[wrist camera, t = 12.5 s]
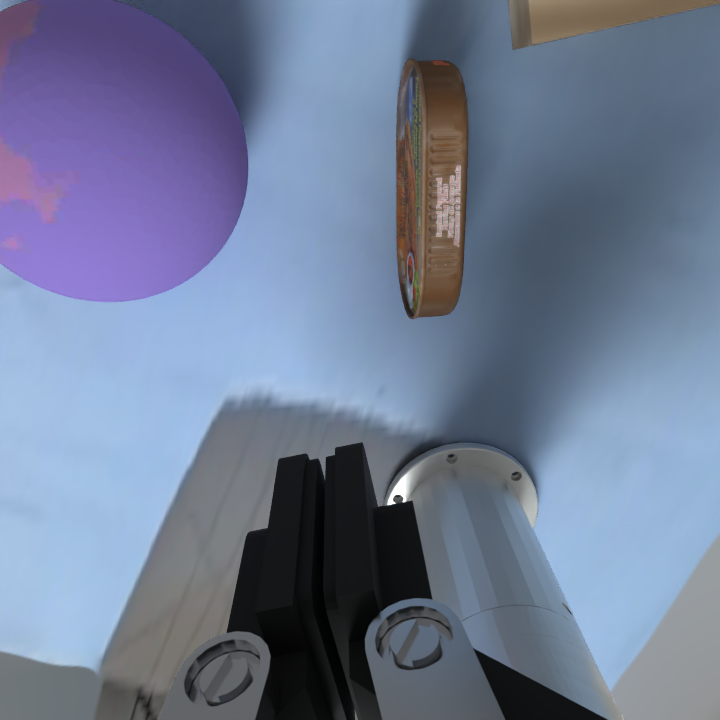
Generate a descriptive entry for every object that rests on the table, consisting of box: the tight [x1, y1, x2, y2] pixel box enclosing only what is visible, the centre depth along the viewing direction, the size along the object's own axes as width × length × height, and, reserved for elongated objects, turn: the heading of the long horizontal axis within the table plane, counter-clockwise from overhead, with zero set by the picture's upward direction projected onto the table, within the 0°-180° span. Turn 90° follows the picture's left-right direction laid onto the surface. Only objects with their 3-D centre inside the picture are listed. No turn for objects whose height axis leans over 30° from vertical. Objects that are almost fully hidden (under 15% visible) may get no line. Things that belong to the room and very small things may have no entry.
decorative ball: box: [0, 0, 248, 302], centre depth 33 cm, size 15×15×15 cm
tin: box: [396, 59, 468, 319], centre depth 37 cm, size 15×3×8 cm, turn 1°
